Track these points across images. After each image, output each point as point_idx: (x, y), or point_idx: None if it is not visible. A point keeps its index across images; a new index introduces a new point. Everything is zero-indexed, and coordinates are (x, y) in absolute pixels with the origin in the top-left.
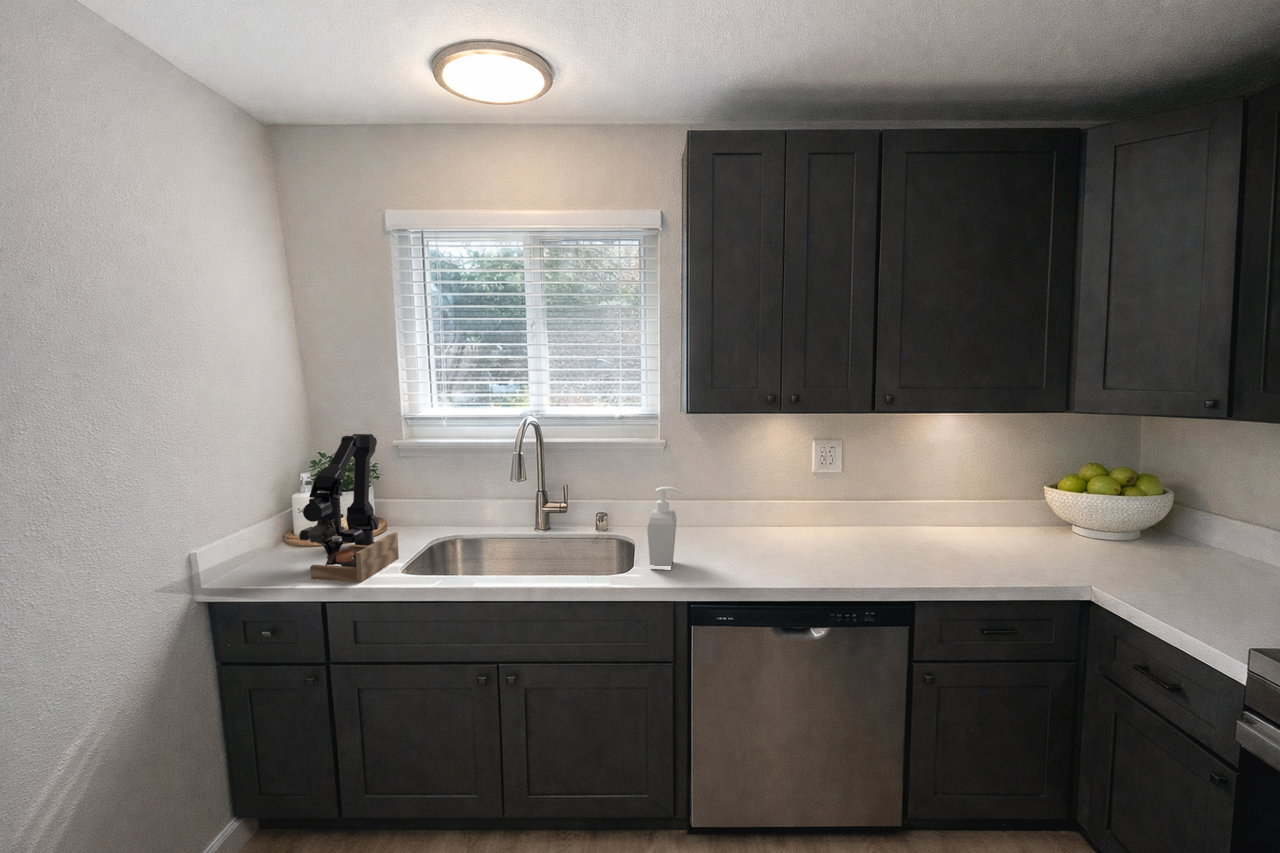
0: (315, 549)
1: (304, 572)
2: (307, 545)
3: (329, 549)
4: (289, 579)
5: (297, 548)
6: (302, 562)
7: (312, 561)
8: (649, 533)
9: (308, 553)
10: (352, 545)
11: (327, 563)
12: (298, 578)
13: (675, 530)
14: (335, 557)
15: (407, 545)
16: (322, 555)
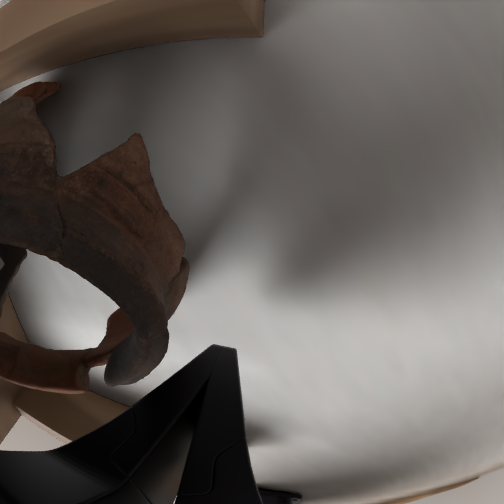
0: (443, 476)
1: (447, 184)
2: (469, 482)
3: (189, 460)
4: (470, 6)
5: (499, 464)
6: (494, 378)
7: (444, 399)
8: None
9: (467, 453)
10: None
11: (105, 161)
12: (411, 14)
13: None
14: (133, 345)
15: None
16: (406, 454)
